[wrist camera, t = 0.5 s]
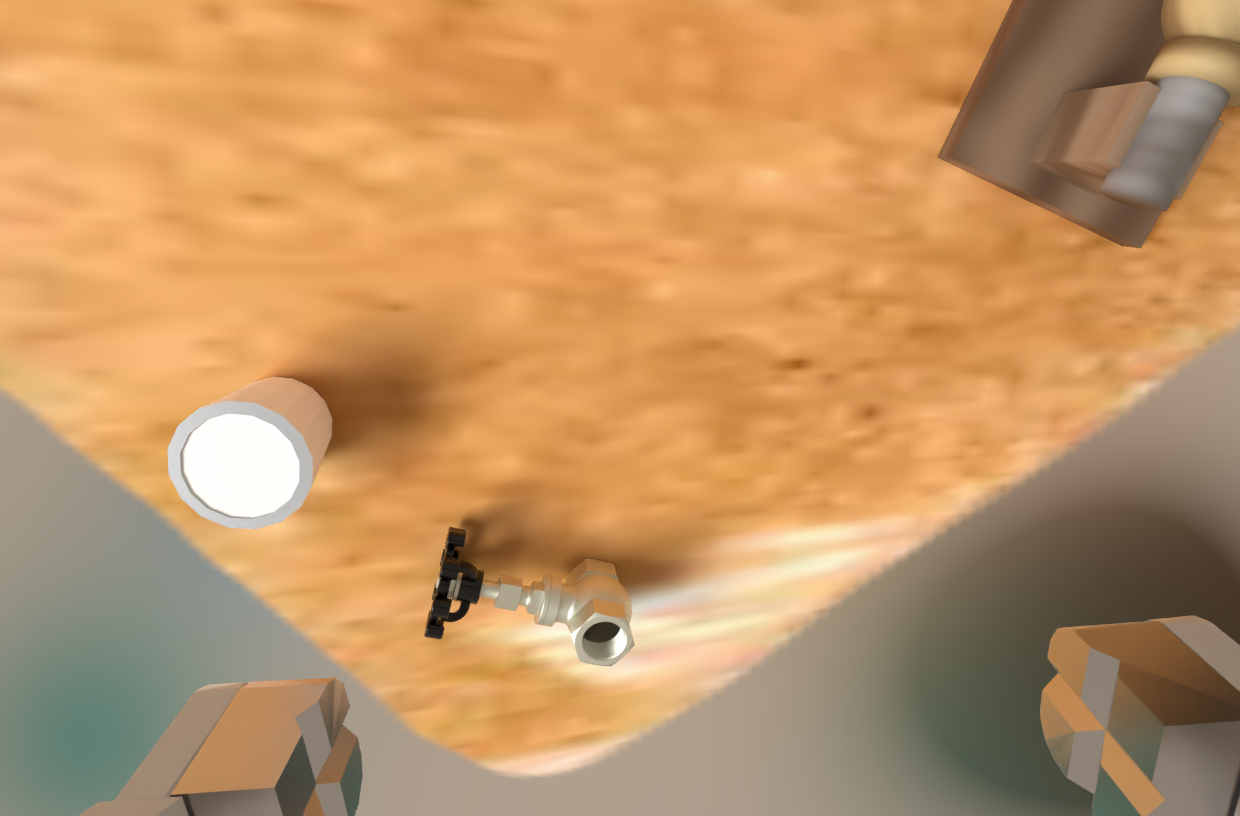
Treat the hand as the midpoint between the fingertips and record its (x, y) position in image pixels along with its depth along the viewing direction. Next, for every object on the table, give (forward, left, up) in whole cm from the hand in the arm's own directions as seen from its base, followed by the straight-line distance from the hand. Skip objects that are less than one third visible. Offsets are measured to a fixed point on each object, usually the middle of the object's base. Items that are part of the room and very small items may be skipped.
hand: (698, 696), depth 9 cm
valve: (+18, -5, -37) cm, 42 cm away
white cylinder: (+5, -17, -37) cm, 41 cm away
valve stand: (-8, +35, -37) cm, 51 cm away
